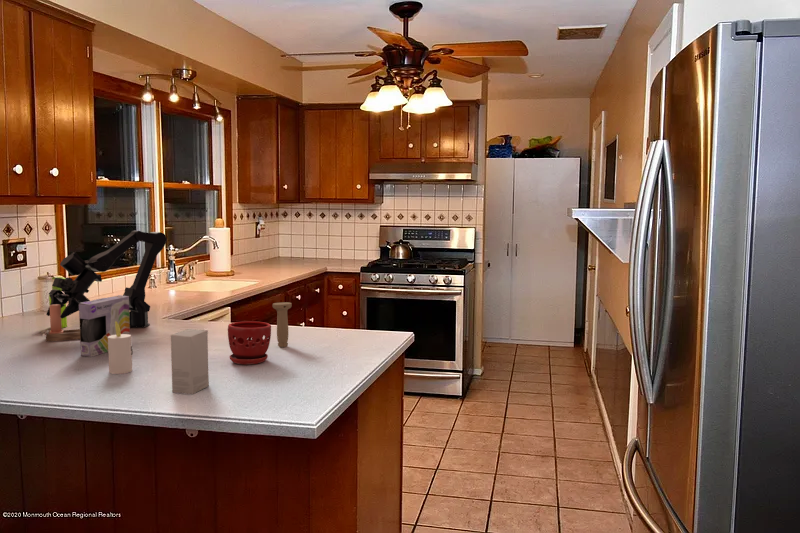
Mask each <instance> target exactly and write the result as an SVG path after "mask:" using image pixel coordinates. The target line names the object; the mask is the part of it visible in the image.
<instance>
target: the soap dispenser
mask: <svg viewBox="0 0 800 533" xmlns="http://www.w3.org/2000/svg"><path fill="white" fill-rule="evenodd" d="M55 278H62V279H66V278H67V277H63V276H55V277H51V280H54V279H55ZM51 290H62V289H61V288H58V287H56V286H55V287H54V286H51ZM48 300H49V303H48V304H49V305H50V304H51V298H50V295H49V294H48ZM64 305H65V306H63V307H62V308H61V314H62V313H63V311H64V310H65V308H66V307H67V303H66V304H64ZM67 318H68V316H67V317H65V318H63V319H62V318H61V323H62V329H64V328H67V327H68V321H67V320H68V319H67Z"/></svg>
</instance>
